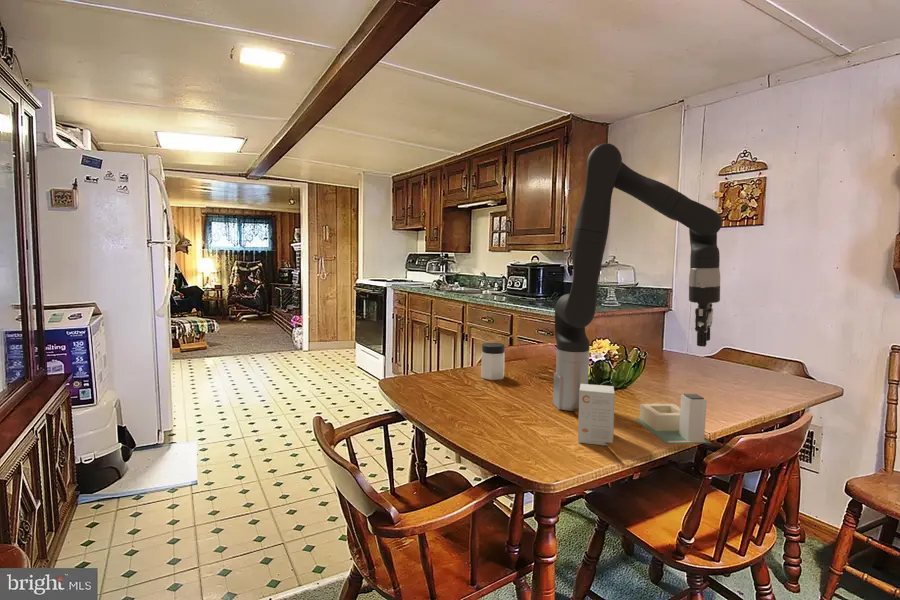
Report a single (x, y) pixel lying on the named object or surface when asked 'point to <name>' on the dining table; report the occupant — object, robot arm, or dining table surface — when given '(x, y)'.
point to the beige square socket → (661, 416)
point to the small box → (596, 414)
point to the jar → (492, 361)
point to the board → (670, 436)
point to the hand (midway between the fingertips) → (703, 343)
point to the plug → (692, 417)
